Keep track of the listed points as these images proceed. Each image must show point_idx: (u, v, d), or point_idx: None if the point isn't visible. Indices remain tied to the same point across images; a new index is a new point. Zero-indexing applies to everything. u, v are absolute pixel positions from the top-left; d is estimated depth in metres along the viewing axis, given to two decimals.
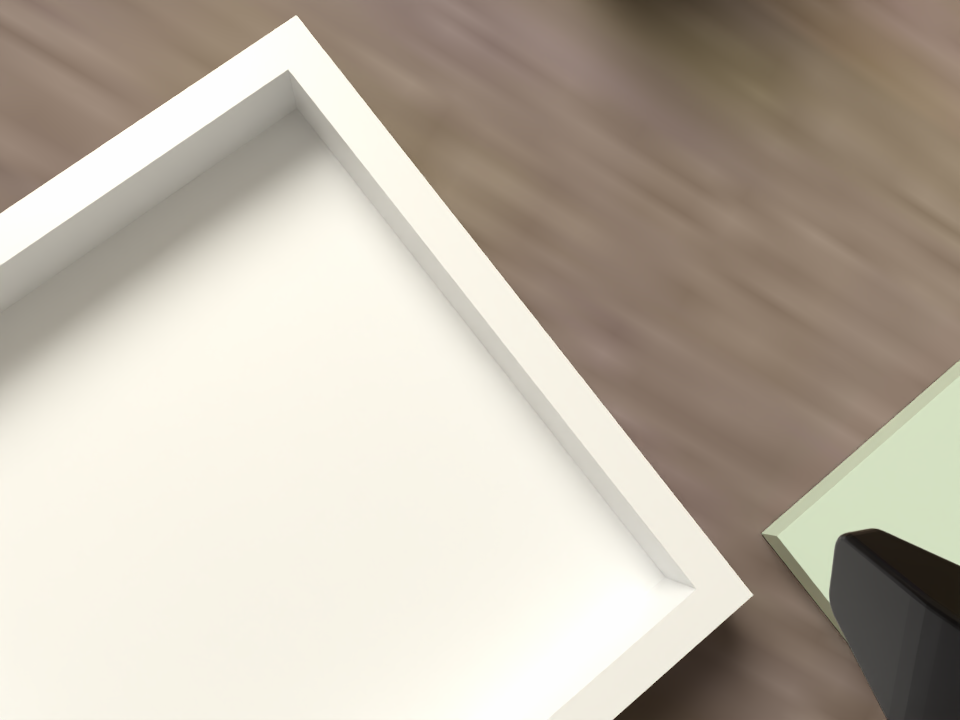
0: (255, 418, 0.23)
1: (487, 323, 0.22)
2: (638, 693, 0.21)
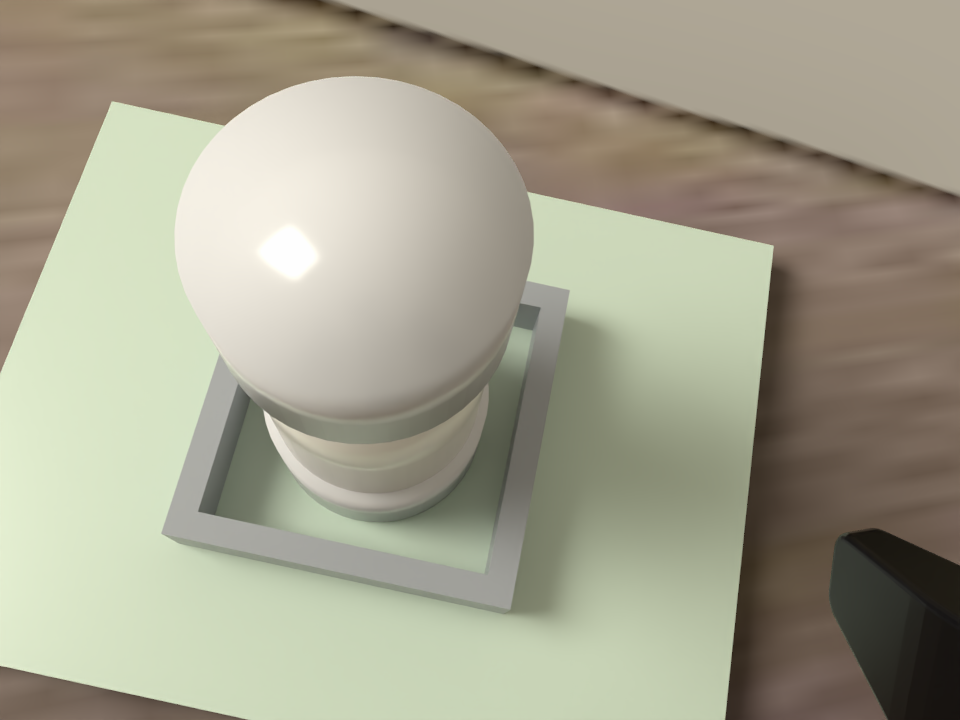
0: None
1: None
2: None
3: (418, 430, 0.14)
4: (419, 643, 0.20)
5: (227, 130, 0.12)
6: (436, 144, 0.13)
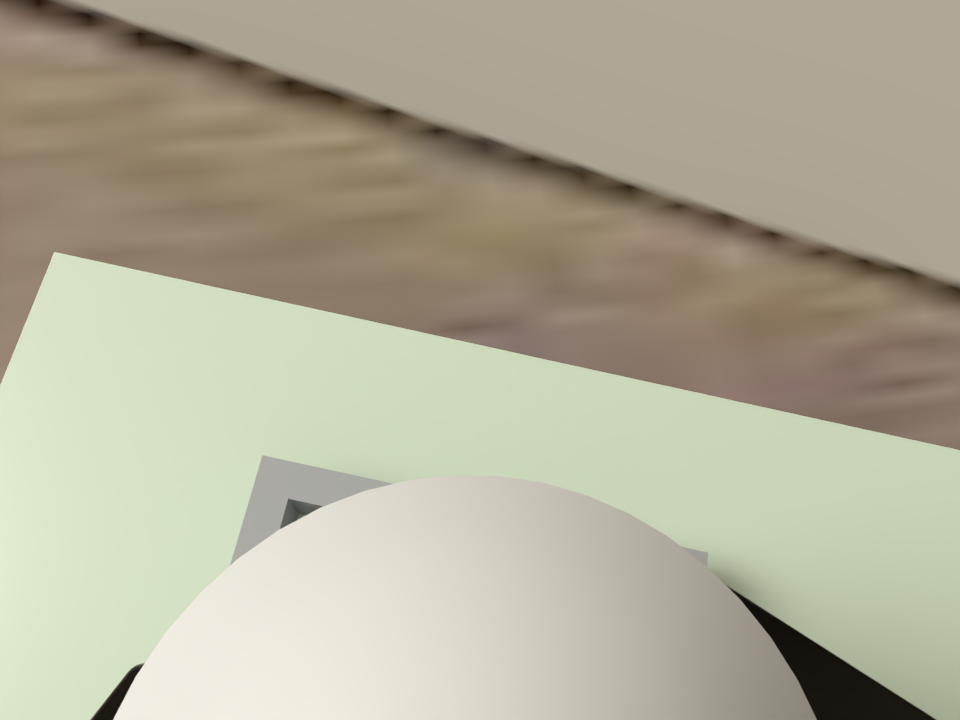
0: None
1: None
2: None
3: None
4: None
5: (189, 624, 0.06)
6: (631, 637, 0.06)
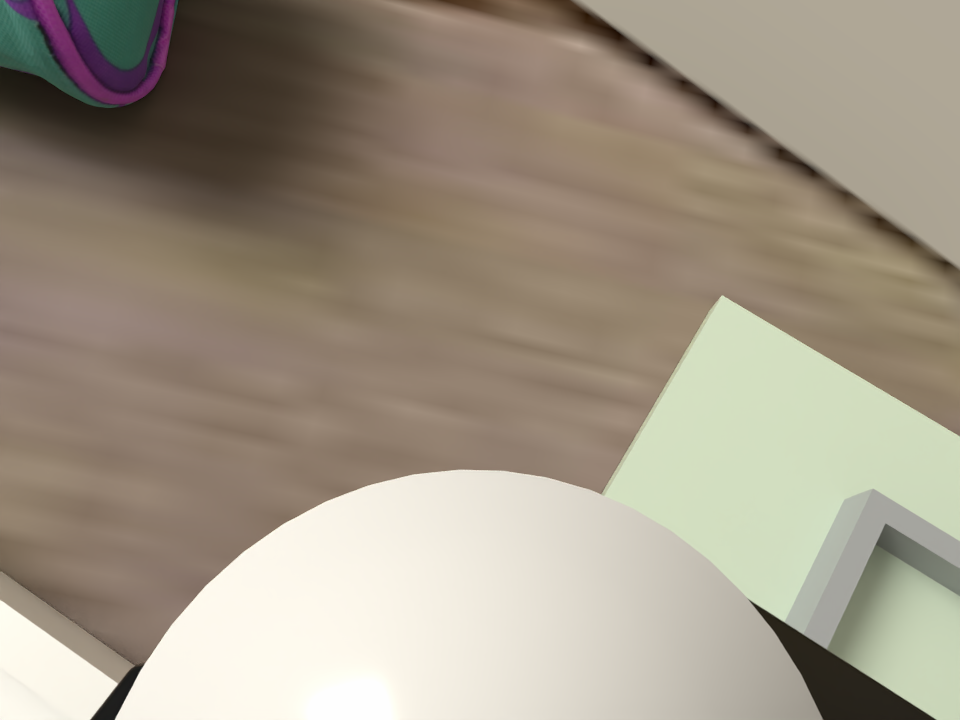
0: None
1: None
2: None
3: None
4: None
5: (194, 617, 0.06)
6: (634, 632, 0.06)
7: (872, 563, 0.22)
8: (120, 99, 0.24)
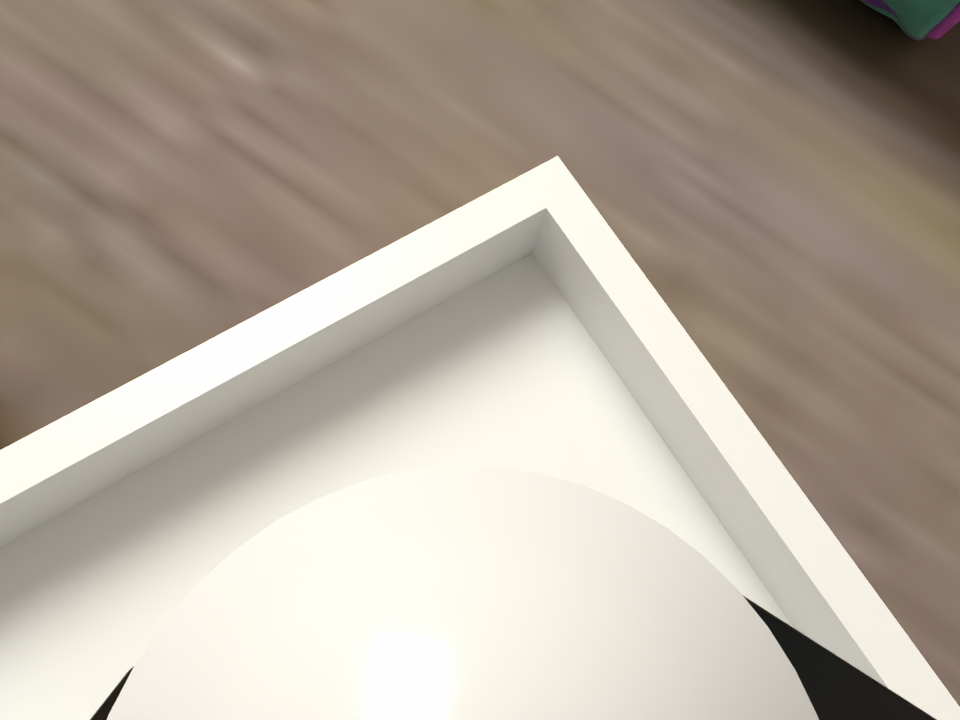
0: None
1: (752, 498, 0.19)
2: None
3: None
4: None
5: (188, 613, 0.06)
6: (630, 627, 0.06)
7: None
8: (945, 32, 0.24)
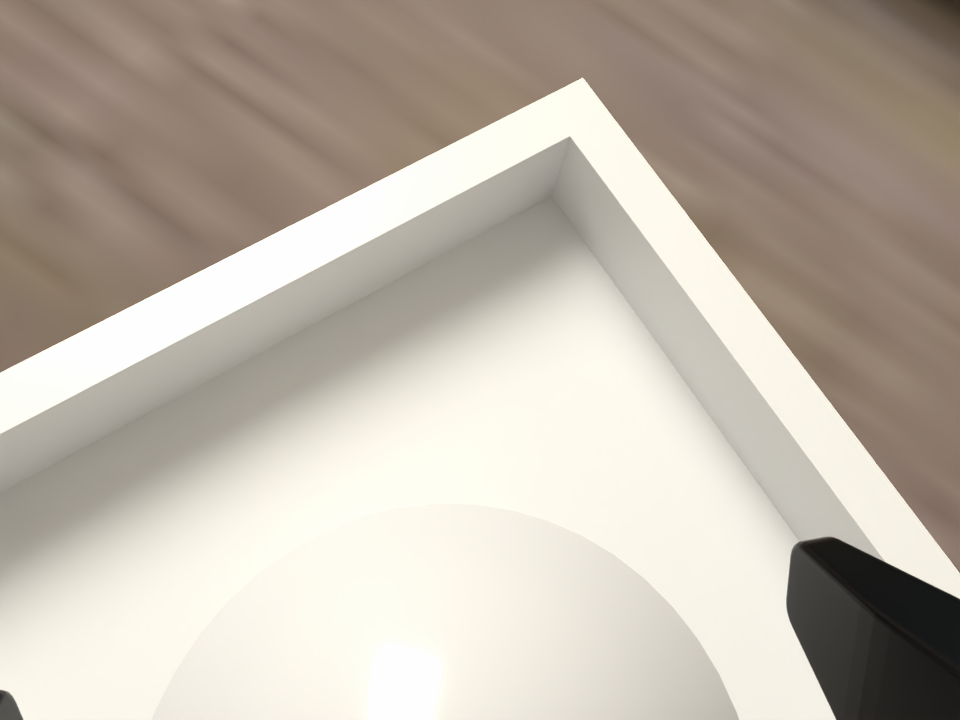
0: None
1: (818, 473, 0.16)
2: None
3: None
4: None
5: (218, 627, 0.07)
6: (581, 639, 0.07)
7: None
8: None
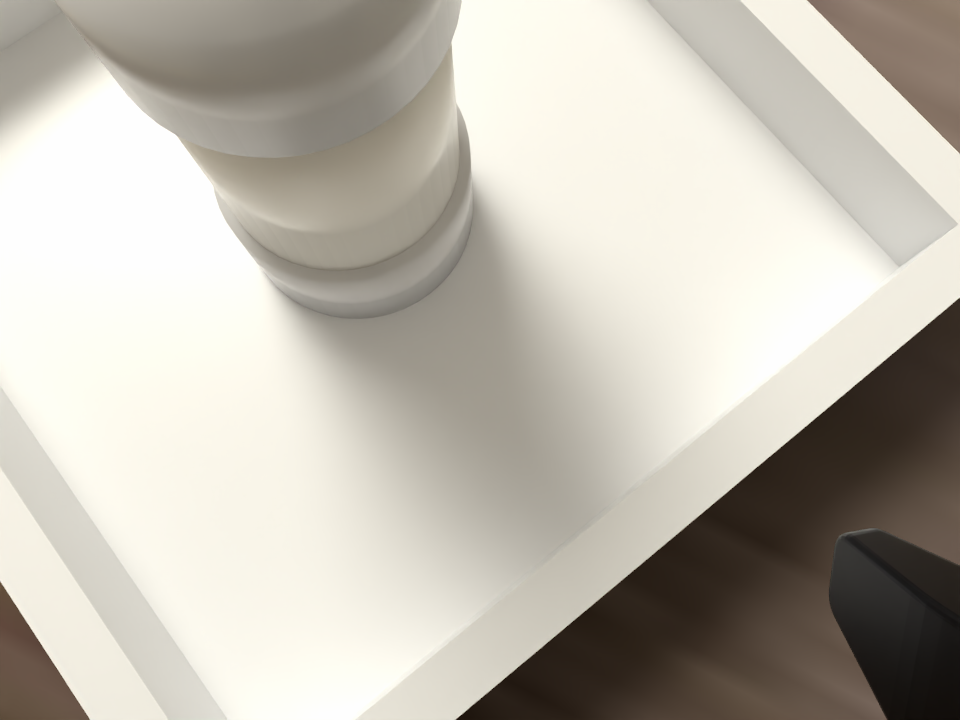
0: None
1: None
2: (890, 352, 0.16)
3: (356, 128, 0.11)
4: None
5: None
6: None
7: None
8: None
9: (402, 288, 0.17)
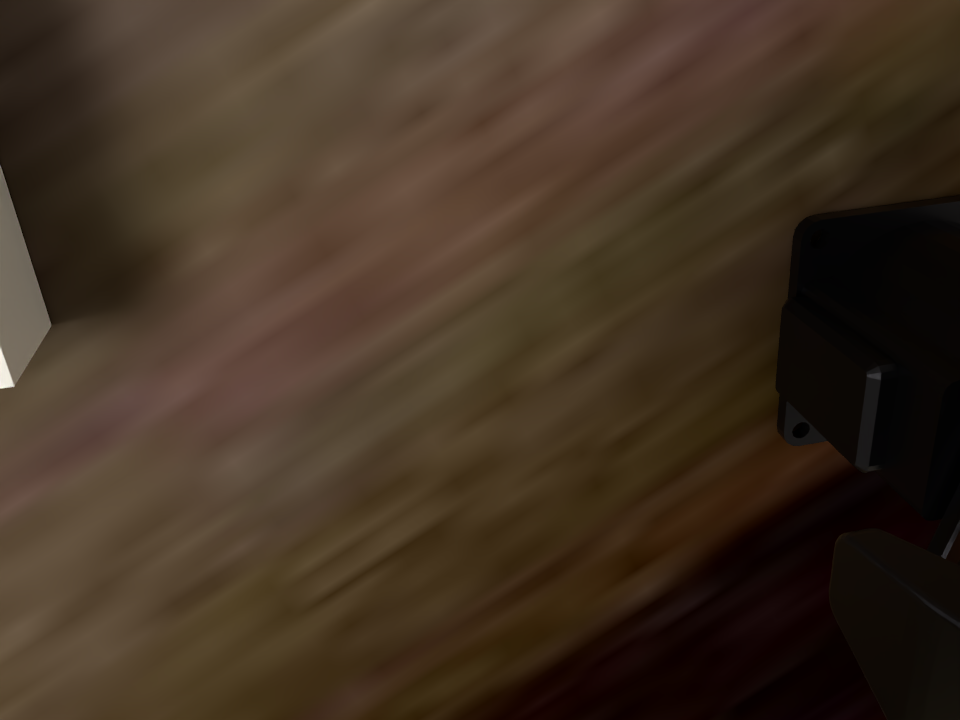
0: None
1: None
2: None
3: None
4: None
5: None
6: None
7: None
8: None
9: None
